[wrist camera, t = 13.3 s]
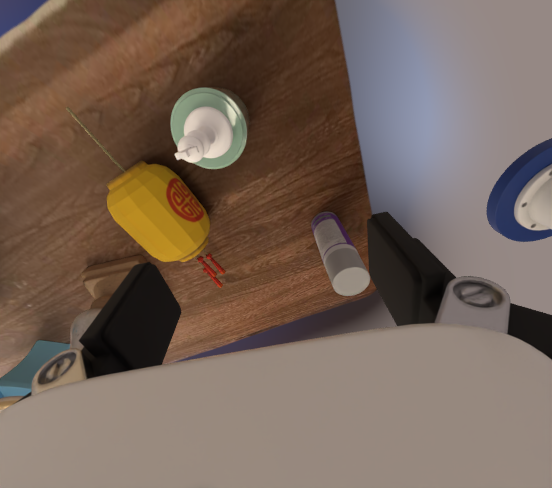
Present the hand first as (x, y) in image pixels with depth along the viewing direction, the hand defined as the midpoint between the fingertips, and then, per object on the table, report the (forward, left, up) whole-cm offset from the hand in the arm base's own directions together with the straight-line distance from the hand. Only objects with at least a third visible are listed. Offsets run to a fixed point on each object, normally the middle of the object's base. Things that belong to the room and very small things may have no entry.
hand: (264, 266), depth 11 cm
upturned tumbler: (-1, -6, -29) cm, 30 cm away
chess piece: (-1, -6, -20) cm, 21 cm away
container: (+10, +13, -29) cm, 34 cm away
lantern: (+12, -11, -29) cm, 34 cm away
